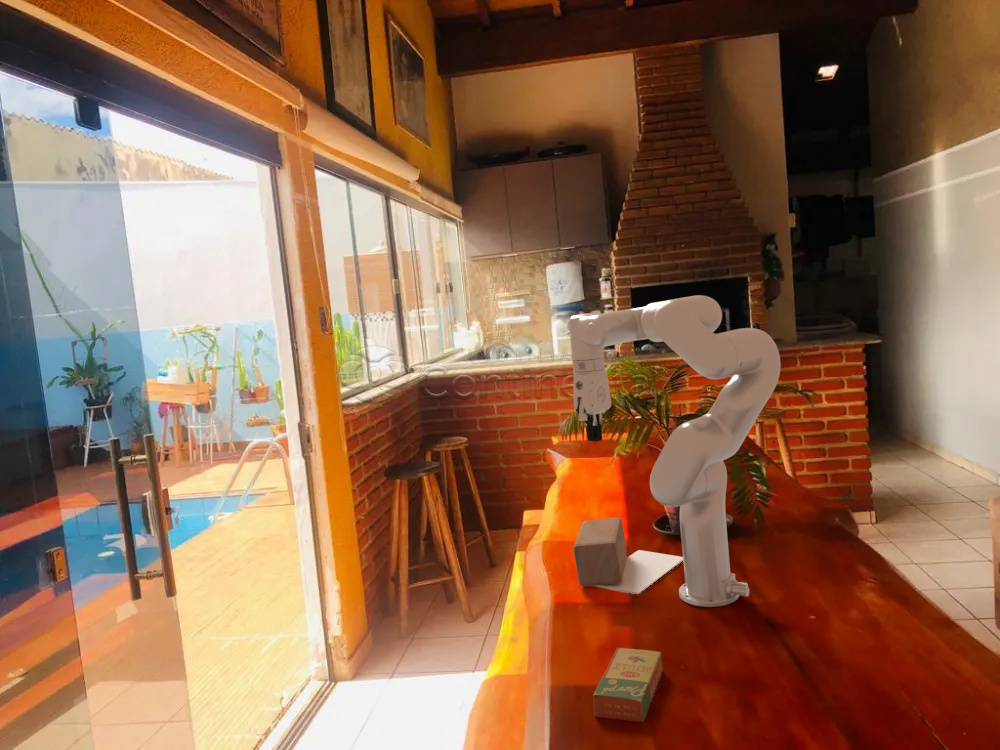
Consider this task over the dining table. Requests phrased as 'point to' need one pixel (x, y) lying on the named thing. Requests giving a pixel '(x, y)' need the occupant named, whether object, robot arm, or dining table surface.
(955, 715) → the dining table surface
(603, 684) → the carton
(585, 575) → the wooden block
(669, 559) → the white mat
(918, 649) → the dining table surface
